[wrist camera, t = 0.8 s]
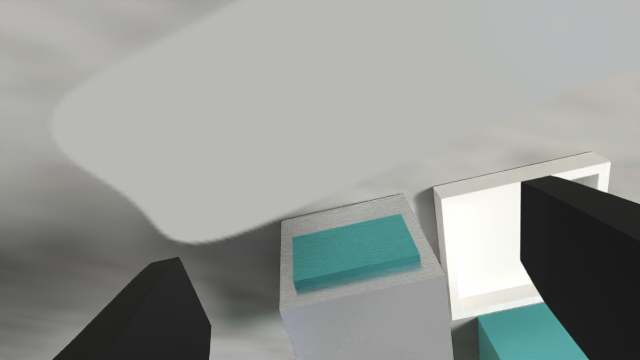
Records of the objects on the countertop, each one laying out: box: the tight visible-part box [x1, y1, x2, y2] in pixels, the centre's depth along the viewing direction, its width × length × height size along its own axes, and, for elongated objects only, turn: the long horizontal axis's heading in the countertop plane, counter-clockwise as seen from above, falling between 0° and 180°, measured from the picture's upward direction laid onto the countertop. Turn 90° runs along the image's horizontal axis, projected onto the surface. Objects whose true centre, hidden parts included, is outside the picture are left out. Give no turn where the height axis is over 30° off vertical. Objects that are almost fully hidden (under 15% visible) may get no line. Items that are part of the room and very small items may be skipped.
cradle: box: [433, 151, 611, 320], centre depth 18 cm, size 6×6×1 cm
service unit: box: [279, 194, 454, 360], centre depth 16 cm, size 4×5×5 cm
